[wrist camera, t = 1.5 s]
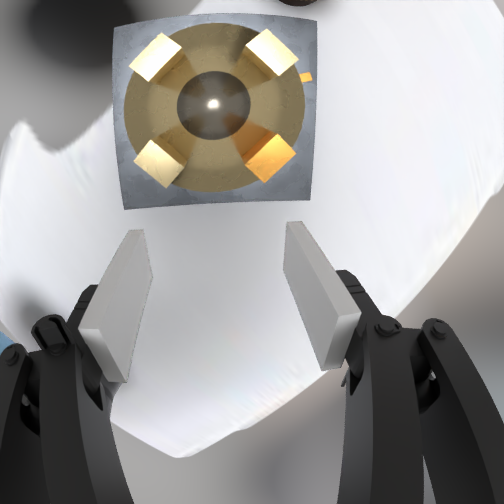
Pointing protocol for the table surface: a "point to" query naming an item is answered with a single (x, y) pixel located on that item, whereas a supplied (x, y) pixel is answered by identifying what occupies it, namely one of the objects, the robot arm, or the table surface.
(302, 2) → the coffee mug
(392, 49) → the table surface
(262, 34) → the lathe chuck
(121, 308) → the robot arm
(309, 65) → the housing
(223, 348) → the table surface
